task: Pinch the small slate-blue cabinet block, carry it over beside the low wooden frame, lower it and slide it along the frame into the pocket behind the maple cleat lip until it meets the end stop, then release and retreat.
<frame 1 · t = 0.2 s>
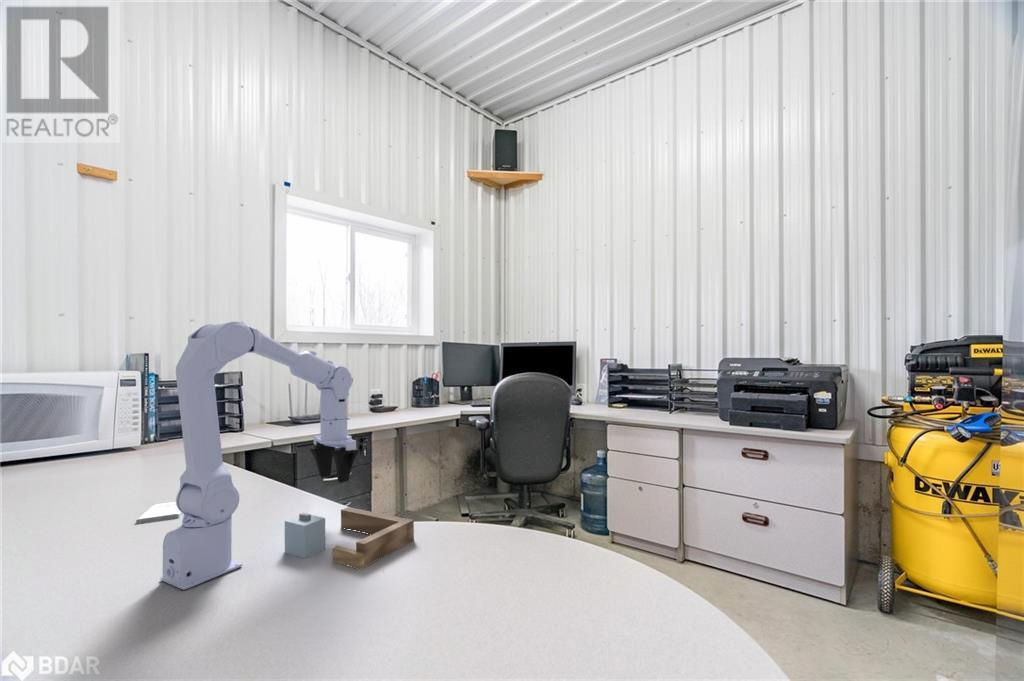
hand: (334, 479, 101), 10 cm above the table, fingers open, 7 cm apart
cabinet block: (305, 550, 86), on the table
wooden frame: (376, 534, 93), on the table
external hard drive: (165, 516, 110), on the table
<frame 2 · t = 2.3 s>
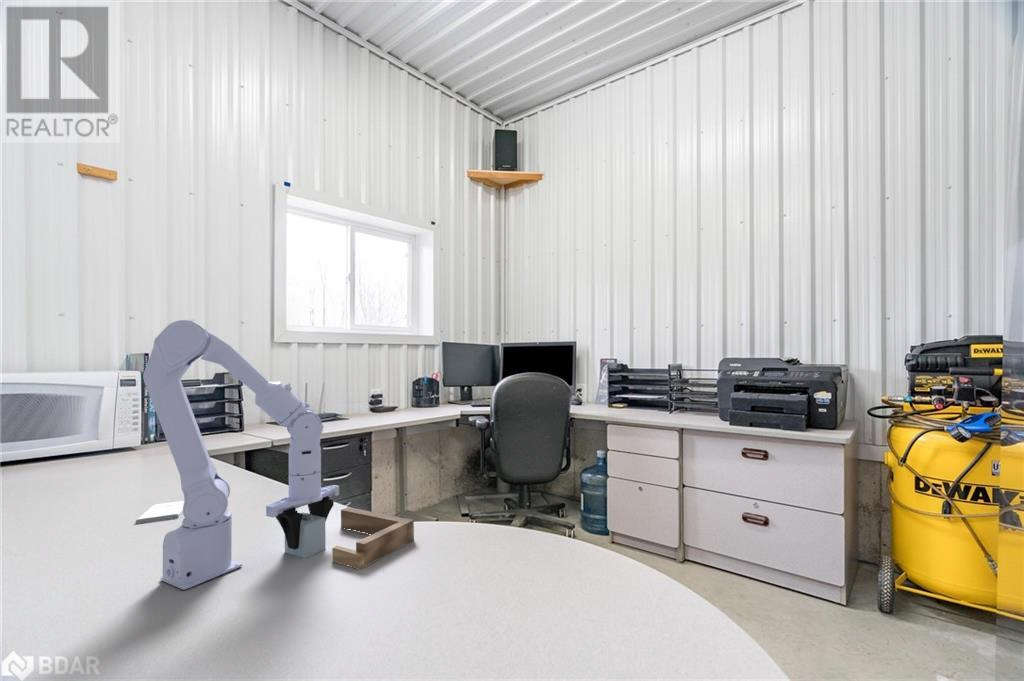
hand: (305, 543, 86), 1 cm above the table, fingers closed on cabinet block, 4 cm apart
cabinet block: (305, 550, 86), on the table, touching gripper
everything else where it was.
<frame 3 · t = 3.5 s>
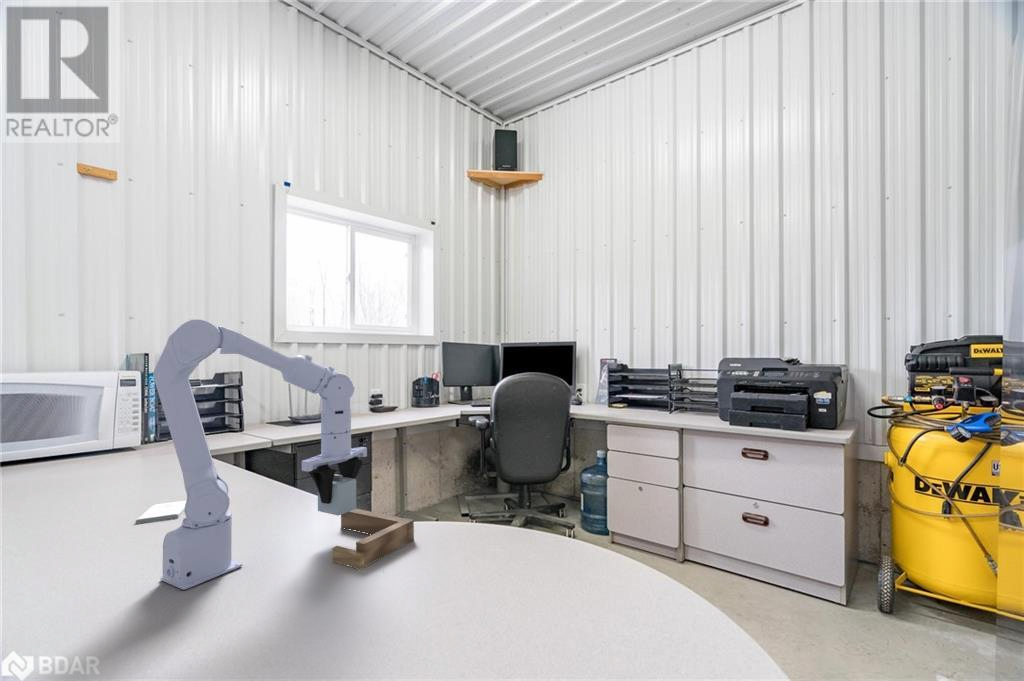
hand: (336, 499, 90), 8 cm above the table, fingers closed on cabinet block, 4 cm apart
cabinet block: (337, 509, 90), point 6 cm above the table, touching gripper
everything else where it was.
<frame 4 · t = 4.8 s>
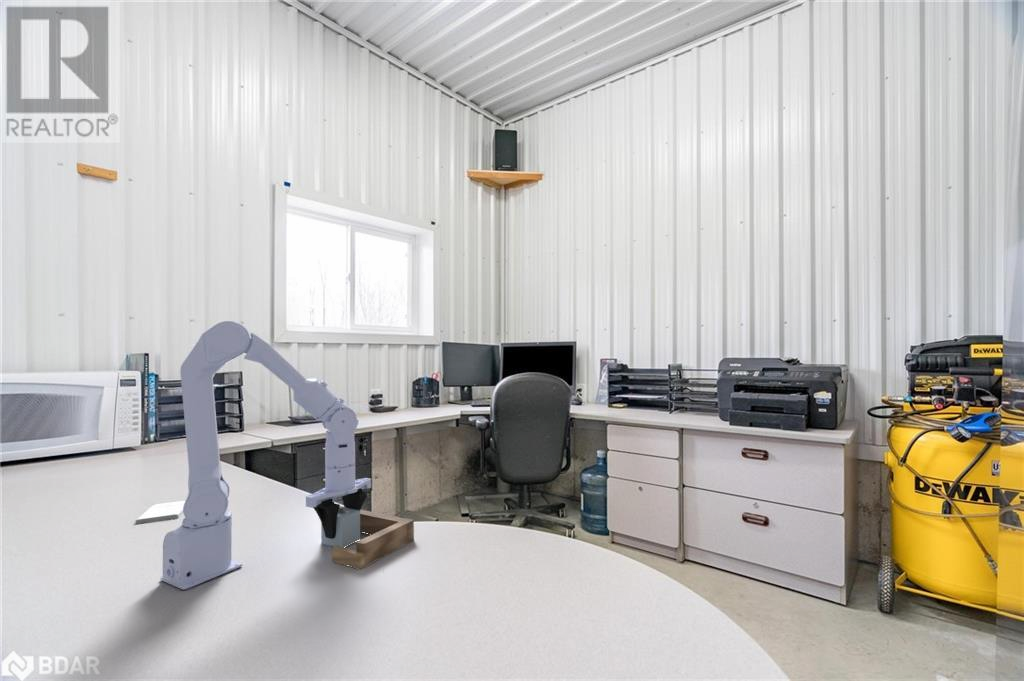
hand: (340, 533, 90), 2 cm above the table, fingers closed on cabinet block, 4 cm apart
cabinet block: (340, 542, 89), on the table, touching gripper
everything else where it was.
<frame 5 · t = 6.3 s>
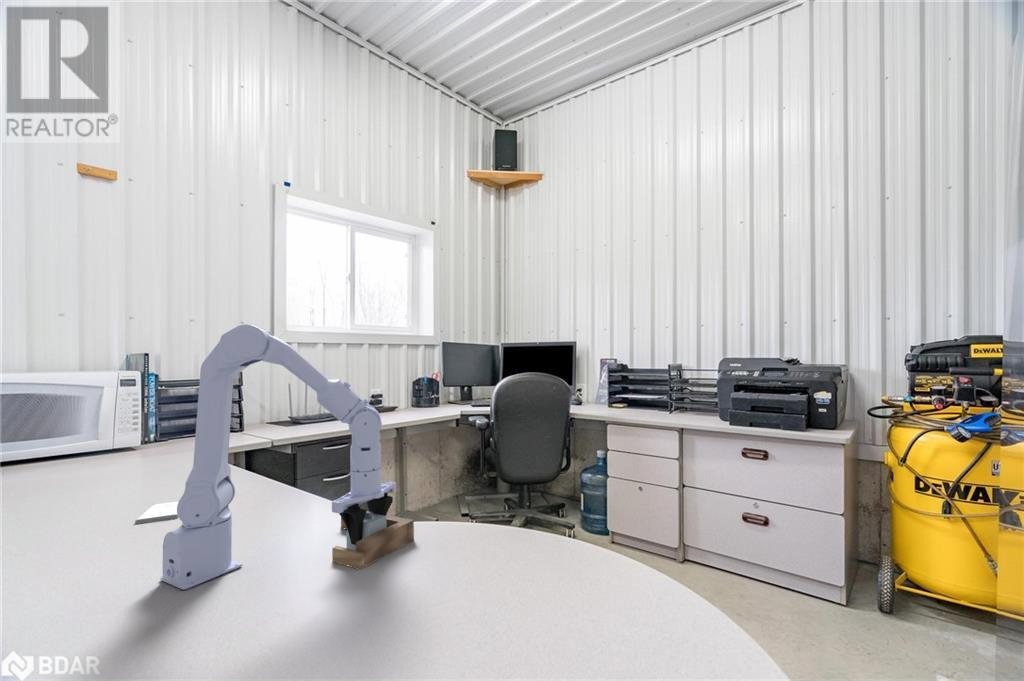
hand: (366, 539, 86), 2 cm above the table, fingers closed on cabinet block, 4 cm apart
cabinet block: (366, 548, 86), on the table, touching gripper
everything else where it was.
when the fingers open (2 cm above the table, at t = 7.6 s): cabinet block stays where it is, on the table.
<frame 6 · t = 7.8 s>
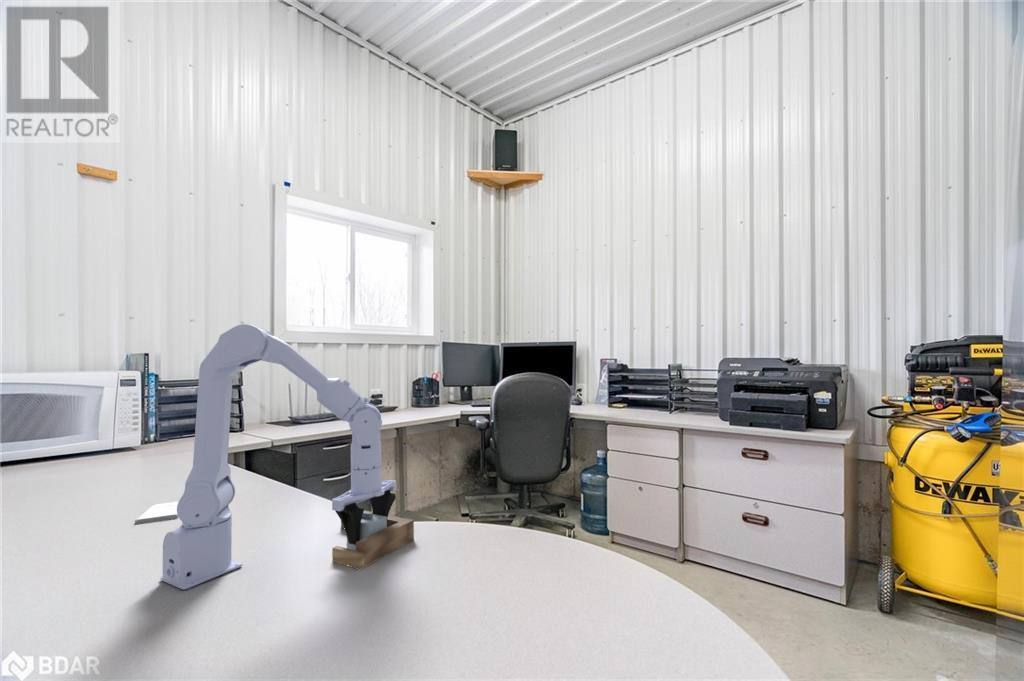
hand: (366, 537, 86), 2 cm above the table, fingers open, 6 cm apart
cabinet block: (367, 549, 86), on the table
everything else where it was.
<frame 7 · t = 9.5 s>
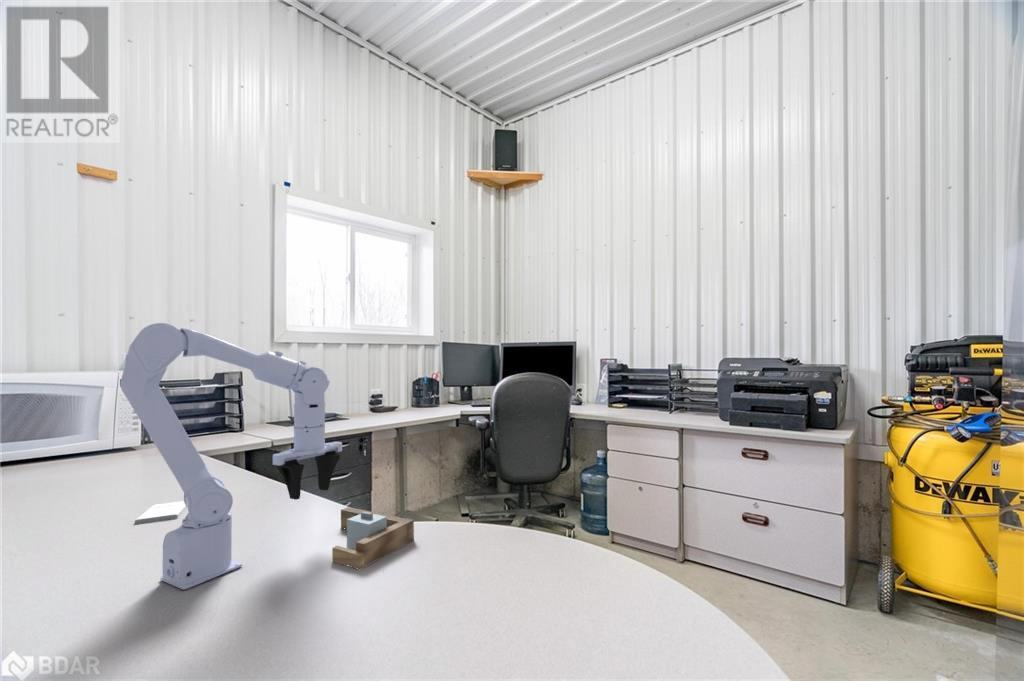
hand: (309, 493, 89), 10 cm above the table, fingers open, 6 cm apart
nothing on the table moved.
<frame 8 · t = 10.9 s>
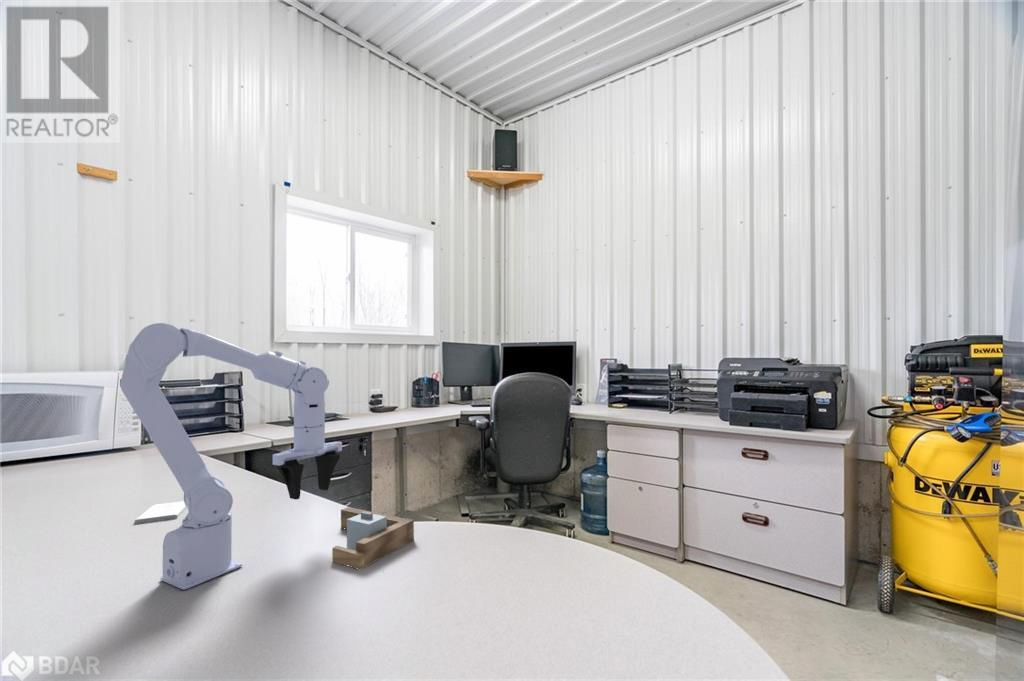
hand: (309, 493, 89), 10 cm above the table, fingers open, 6 cm apart
nothing on the table moved.
at the end: cabinet block 0.4 cm from the target spot, on the table; cabinet block tilted 0°; the gripper is holding nothing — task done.
